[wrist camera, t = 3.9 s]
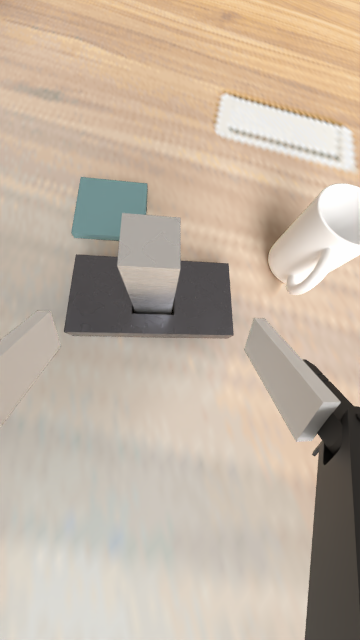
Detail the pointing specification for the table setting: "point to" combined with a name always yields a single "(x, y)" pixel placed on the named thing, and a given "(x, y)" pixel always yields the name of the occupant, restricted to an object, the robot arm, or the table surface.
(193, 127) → the table surface
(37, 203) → the table surface
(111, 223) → the teal mat
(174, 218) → the steel peg
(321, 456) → the robot arm
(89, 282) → the block
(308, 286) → the mug
